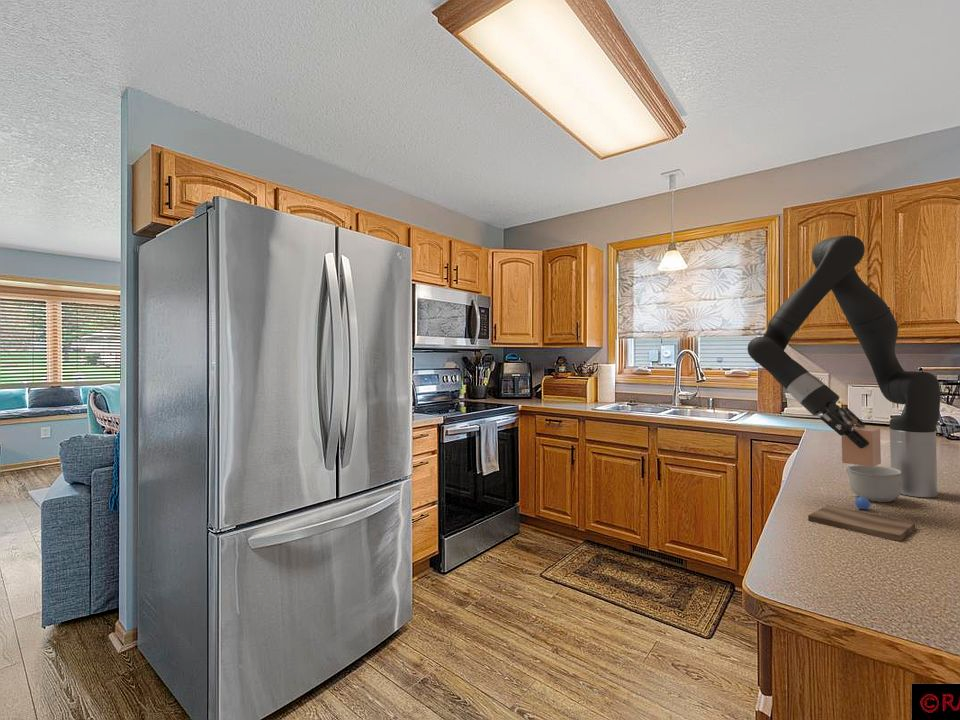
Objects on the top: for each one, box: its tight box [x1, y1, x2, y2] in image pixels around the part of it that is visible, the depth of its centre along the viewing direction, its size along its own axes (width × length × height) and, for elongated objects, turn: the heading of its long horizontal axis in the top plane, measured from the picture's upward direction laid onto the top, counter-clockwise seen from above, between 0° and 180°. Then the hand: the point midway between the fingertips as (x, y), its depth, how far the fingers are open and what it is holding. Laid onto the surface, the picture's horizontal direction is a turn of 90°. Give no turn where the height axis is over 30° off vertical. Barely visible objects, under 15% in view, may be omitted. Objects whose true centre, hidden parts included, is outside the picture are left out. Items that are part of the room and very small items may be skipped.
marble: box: [854, 496, 872, 510], centre depth 114 cm, size 3×3×3 cm
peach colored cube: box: [841, 425, 882, 467], centre depth 114 cm, size 6×6×8 cm
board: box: [807, 504, 916, 542], centre depth 104 cm, size 12×16×1 cm
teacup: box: [846, 464, 902, 503], centre depth 124 cm, size 14×11×8 cm
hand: (869, 444), depth 112 cm, fingers closed on peach colored cube, 6 cm apart
